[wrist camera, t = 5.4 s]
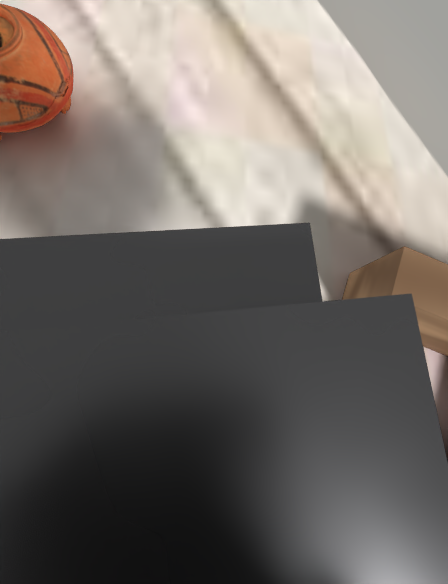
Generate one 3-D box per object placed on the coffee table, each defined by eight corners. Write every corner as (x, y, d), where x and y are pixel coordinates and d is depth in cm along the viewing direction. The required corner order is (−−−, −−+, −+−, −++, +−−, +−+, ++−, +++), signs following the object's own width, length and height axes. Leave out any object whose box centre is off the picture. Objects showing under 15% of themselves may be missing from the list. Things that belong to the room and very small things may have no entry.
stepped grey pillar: (238, 438, 15) (513, 778, 3) (118, 456, 14) (-218, 1035, 2) (224, 319, 16) (388, 184, 4) (112, 330, 15) (-146, 203, 3)
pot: (-75, 87, 23) (-139, -35, 17) (45, 68, 26) (29, -38, 20) (-18, 184, 22) (-64, 92, 16) (99, 151, 25) (98, 65, 19)
